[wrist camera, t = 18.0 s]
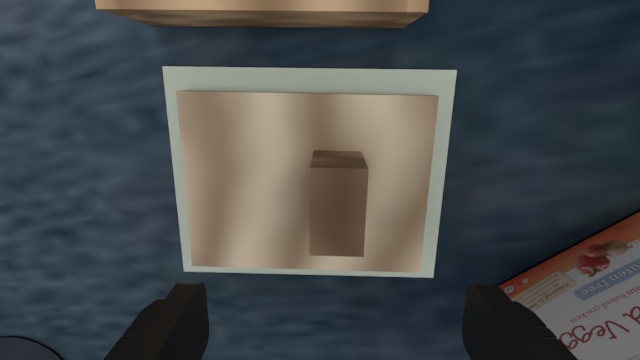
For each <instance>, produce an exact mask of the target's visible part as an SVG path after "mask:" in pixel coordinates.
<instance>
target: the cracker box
mask: <svg viewBox="0 0 640 360" xmlns="http://www.w3.org/2000/svg"><path fill="white" fill-rule="evenodd" d="M499 287H500V288H501V289H502V290H503V291H504V292H505V293H506V295H507V296H508V297H509V298H510V299H511V300H512V301H517V302H519V303H521V304H522V305H524V306H525V307H527V308H528V309H530V310H531V311H533V312H534V313H535V314H536V315H537V316H538V317H539V318H540V319H541V320H542V321H543V322H544V323H545V324H546V327H547V328H549V329H550V330H551V331H552V332H553V333H554V334H555V335H556V336H557V339H559V340H560V341H561V342H562V343H563V344H564V345H565V346H566V347H567V348H568V349H569V350H570V351H571V353H572V354H573V355H574V356H575V357H576V358H577V359H578V360H640V212H638V213H636V214H634V215H632V216H631V217H629V218H627V219H625V220H623V221H621V222H619V223H617V224H615V225H614V226H612V227H610V228H608V229H606V230H604V231H602V232H600V233H598V234H597V235H595V236H593V237H591V238H589V239H587V240H585V241H583V242H581V243H579V244H577V245H575V246H574V247H572V248H570V249H568V250H566V251H564V252H562V253H560V254H558V255H556V256H555V257H553V258H551V259H549V260H547V261H545V262H543V263H541V264H539V265H537V266H535V267H534V268H532V269H530V270H528V271H526V272H524V273H522V274H520V275H519V276H517V277H515V278H513V279H511V280H509V281H507V282H505V283H503V284H501V285H499Z"/></svg>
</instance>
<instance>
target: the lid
mask: <svg viewBox="0 0 640 360" xmlns="http://www.w3.org/2000/svg"><path fill="white" fill-rule="evenodd" d="M176 97H177V108H178V119H179V130H180V141H181V151H182V162H183V173H184V184H185V195H186V206H187V217H188V228H189V239H190V249H191V260H192V266H209V267H243V268H276V269H310V270H344V271H378V272H412V273H420V267H421V257H422V248H423V239H424V230H425V220H426V211H427V202H428V193H429V183H430V174H431V165H432V156H433V146H434V137H435V128H436V119H437V109H438V100H439V96H436V95H395V94H344V93H293V92H242V91H191V90H181V91H176Z"/></svg>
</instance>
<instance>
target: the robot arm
mask: <svg viewBox="0 0 640 360" xmlns="http://www.w3.org/2000/svg"><path fill="white" fill-rule="evenodd" d="M208 337H209V320H208V309H207V299H206V289H205V285H204V283H203V282H178V283H176V284H175V285H174V287H173V288H172V290H171V291H170V293H169V294H168V295H167V297H166V298H165V299H157V300H156V301H154V302H153V303H151V304H150V305H149V306H147V307H146V308H144V309H143V310H142V311H141V312H140V313H139V314H138V316H137V317H136V318H135V320H134V321H133V322H132V325H131V326H129V327H128V329H127V330H126V331H125V332H124V334H123V337H121V338H120V339H119V340H118V341H117V343H116V344H115V345H114V347H113V348H112V349H111V350H110V352H109V353H108V354H107V356H106V357H105V358H104V359H103V360H201V359H202V356H203V354H204V352H205V349H206V346H207V342H208ZM462 337H463V342H464V346H465V349H466V351H467V353H468V355H469V357H470V358H471V360H578V359H577V358H576V357H575V356H574V355H573V354H572V353H571V351H570V350H569V349H568V348H567V347H566V346H565V345H564V344H563V343H562V342H561V341H560V340H559V339H557V336H556V335H555V334H554V333H553V332H552V331H551V330H550V329H549V328H547V327H546V324H545V323H544V322H543V321H542V320H541V319H540V318H539V317H538V316H537V315H536V314H535V313H534V312H533V311H531V310H530V309H528V308H527V307H525V306H524V305H522V304H521V303H519V302H517V301H512V300H511V299H510V298H509V297H508V296H507V295H506V293H505V292H504V291H503V290H502V289H501V288H500V287H499V286H498V285H497V284H470V285H469V286H468V289H467V294H466V301H465V309H464V317H463V325H462ZM0 360H61V359H60V358H59V357H58V356H57V355H55V354H54V353H53V352H52V351H50V350H49V349H47V348H45V347H43V346H42V345H40V344H38V343H35V342H32V341H29V340H26V339H21V338H11V337H4V338H0Z"/></svg>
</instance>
